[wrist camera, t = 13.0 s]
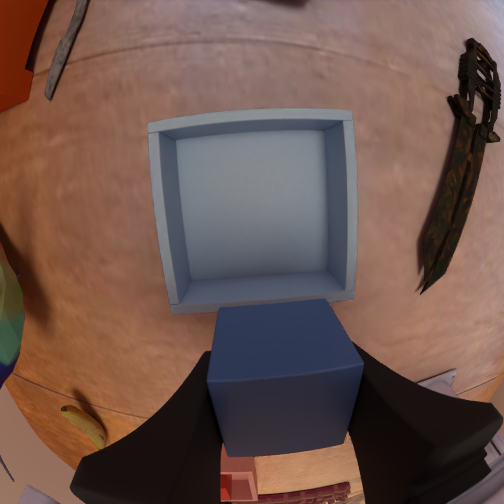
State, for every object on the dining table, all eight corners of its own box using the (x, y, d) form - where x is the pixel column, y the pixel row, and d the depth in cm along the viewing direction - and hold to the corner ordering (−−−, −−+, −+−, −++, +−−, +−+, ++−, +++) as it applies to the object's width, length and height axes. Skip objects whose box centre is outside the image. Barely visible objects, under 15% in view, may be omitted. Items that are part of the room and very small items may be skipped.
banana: (69, 385, 21) (53, 409, 17) (85, 389, 21) (70, 414, 17) (101, 439, 24) (92, 461, 20) (117, 443, 24) (108, 465, 20)
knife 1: (76, -34, 8) (102, -47, 8) (79, -32, 9) (104, -43, 9) (41, 102, 13) (68, 89, 13) (46, 103, 14) (73, 91, 14)
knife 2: (425, 297, 19) (434, 304, 18) (374, 267, 18) (382, 274, 17) (500, 77, 13) (508, 75, 12) (461, 33, 12) (469, 29, 11)
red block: (232, 473, 25) (231, 500, 21) (197, 472, 25) (194, 498, 21) (227, 458, 24) (226, 488, 19) (189, 457, 24) (185, 486, 19)
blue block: (320, 375, 12) (343, 444, 8) (230, 384, 12) (227, 458, 8) (325, 297, 11) (365, 363, 7) (218, 306, 11) (205, 381, 7)
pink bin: (256, 477, 26) (258, 501, 22) (182, 476, 26) (178, 498, 22) (251, 442, 23) (252, 471, 20) (160, 439, 23) (153, 466, 19)
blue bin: (333, 274, 18) (354, 299, 14) (185, 286, 18) (171, 314, 14) (329, 123, 15) (352, 110, 12) (168, 133, 15) (146, 122, 11)
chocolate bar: (227, 496, 28) (227, 505, 26) (348, 481, 28) (351, 491, 26) (233, 508, 30) (233, 516, 28) (341, 495, 30) (343, 503, 28)
